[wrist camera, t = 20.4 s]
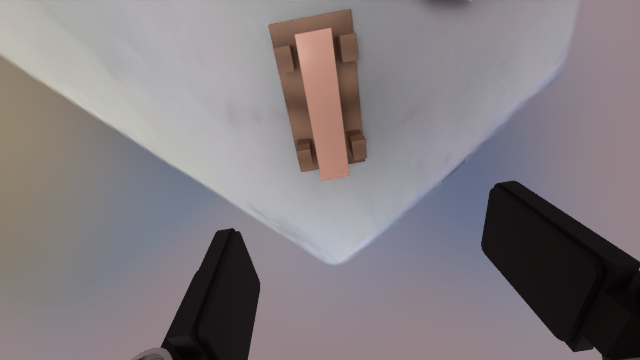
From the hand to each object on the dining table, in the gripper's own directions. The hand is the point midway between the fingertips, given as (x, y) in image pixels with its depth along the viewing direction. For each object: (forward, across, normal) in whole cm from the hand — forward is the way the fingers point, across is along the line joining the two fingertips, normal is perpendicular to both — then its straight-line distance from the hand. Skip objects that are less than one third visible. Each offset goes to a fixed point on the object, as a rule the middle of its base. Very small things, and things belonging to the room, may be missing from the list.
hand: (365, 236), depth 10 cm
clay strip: (+25, 0, 0) cm, 25 cm away
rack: (+26, 0, 0) cm, 26 cm away
